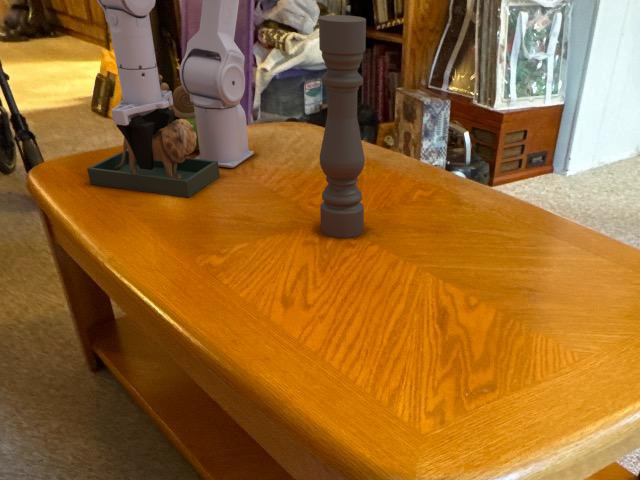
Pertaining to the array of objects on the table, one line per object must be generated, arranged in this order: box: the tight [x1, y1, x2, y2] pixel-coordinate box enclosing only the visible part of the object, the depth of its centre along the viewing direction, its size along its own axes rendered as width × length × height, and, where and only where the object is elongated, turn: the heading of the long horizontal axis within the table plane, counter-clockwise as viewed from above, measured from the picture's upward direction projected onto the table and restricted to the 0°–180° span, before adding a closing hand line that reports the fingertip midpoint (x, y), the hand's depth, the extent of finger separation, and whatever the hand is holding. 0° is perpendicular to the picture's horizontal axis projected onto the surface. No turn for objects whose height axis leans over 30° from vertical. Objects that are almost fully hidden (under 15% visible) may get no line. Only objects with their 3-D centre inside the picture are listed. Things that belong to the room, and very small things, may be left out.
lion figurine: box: [114, 118, 197, 179], centre depth 107 cm, size 15×5×9 cm, turn 80°
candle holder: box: [318, 14, 367, 239], centre depth 89 cm, size 6×6×25 cm
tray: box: [86, 149, 220, 198], centre depth 110 cm, size 11×17×2 cm, turn 75°
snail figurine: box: [158, 74, 199, 152], centre depth 120 cm, size 5×6×12 cm
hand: (153, 164), depth 109 cm, fingers closed on lion figurine, 4 cm apart
